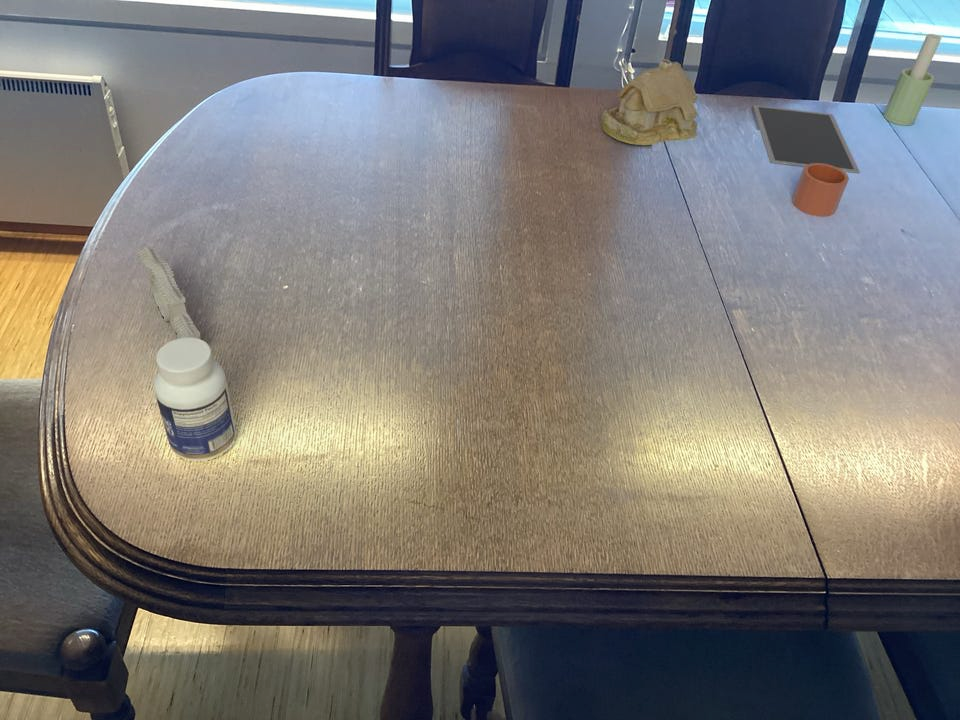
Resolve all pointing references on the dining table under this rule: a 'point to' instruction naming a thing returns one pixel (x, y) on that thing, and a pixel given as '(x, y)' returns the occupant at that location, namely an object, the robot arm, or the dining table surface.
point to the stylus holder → (820, 189)
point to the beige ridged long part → (168, 293)
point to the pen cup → (907, 98)
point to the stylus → (925, 56)
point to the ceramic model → (654, 107)
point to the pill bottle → (193, 400)
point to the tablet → (802, 138)
